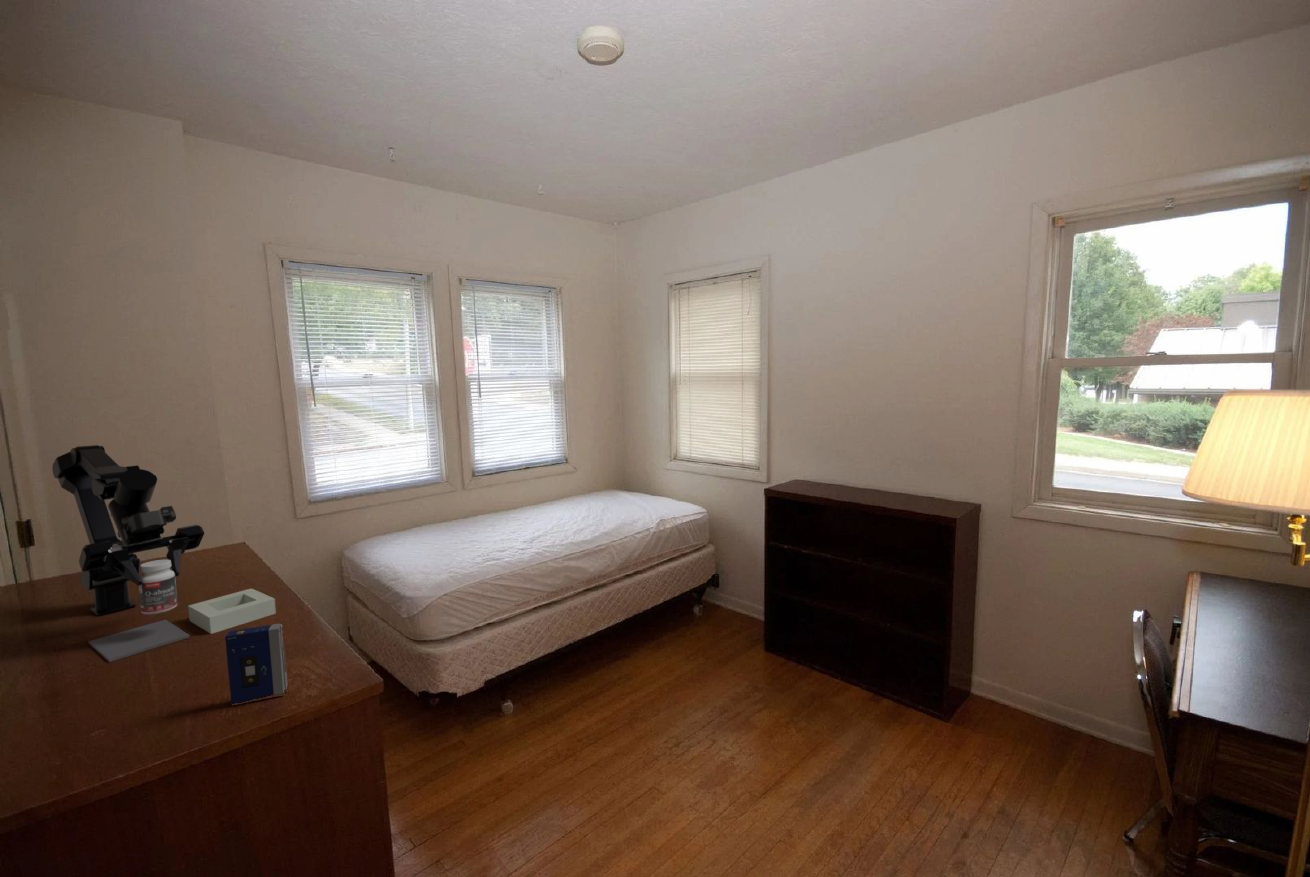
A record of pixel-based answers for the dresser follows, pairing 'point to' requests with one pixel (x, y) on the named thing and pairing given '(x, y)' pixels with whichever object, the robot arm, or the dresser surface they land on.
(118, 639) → the charcoal mat
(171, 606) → the pill bottle
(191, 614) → the socket block
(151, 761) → the dresser surface
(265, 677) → the cassette player
